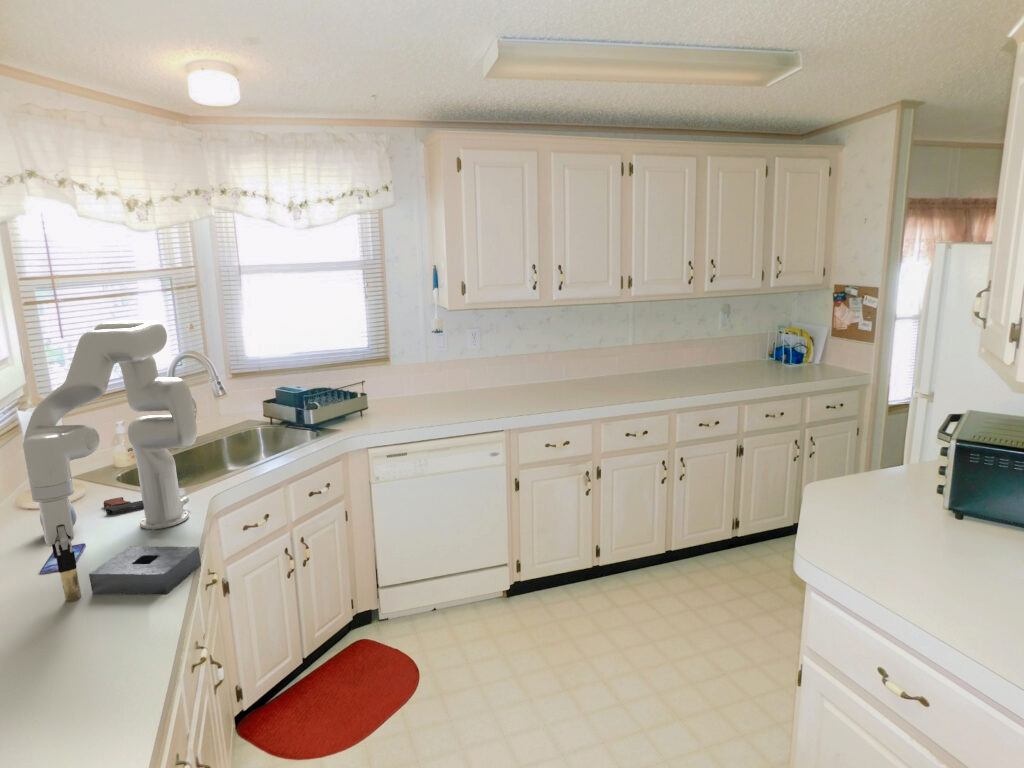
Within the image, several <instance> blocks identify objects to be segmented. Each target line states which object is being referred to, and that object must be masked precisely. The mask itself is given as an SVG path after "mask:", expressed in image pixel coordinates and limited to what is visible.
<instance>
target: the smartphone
mask: <svg viewBox="0 0 1024 768" xmlns="http://www.w3.org/2000/svg"><path fill="white" fill-rule="evenodd" d="M71 545H72V549H73V551H74V554H75V560H76V564H78V562H79V560H80V559H81V556H82V554H83V552H84V550H85V549H86V547H87V545H86V543H85V542H84V543H83V542H82V543H77V544H74V545H73V544H71ZM57 572H58V573H59V570H58V564H57V559H56V558H54V554H53V551H52V552H51V554H50V555H49V557H48V558H47V560H46V561H45V563H44V564H43V565H42V567H41V568H40V570H39V574H40V575H46V574H51V573H57Z"/></svg>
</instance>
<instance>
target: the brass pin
mask: <svg viewBox="0 0 1024 768" xmlns="http://www.w3.org/2000/svg"><path fill="white" fill-rule="evenodd" d="M59 573H60V572H59ZM59 575H60V578H61V584H62V588H63V594H64V599H65V602H66V603H72V602H73V603H74V602H76V601H79V600H80V599H81V598H82V591H81V586H80V581H79V575H78V571H77V568H76V569H73V570H70V571H66V572H62V573H60V574H59Z"/></svg>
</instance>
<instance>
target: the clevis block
mask: <svg viewBox="0 0 1024 768" xmlns="http://www.w3.org/2000/svg"><path fill="white" fill-rule="evenodd" d="M200 554H201V553H200V548H199V546H153V545H152V546H150V545H149V546H136V545H135V546H134V545H133V546H132V545H131V546H128V547H126V549H123V550H122V551H120V552H119V553H118V554H116V555H115V556H114V557H111V558H110V559H109V560H107V561H106V562H104V563H103V564H101V565H100V566H99V567H97V568H95V569H94V570H92V571H91V572H89V573H88V577H89V582H90V588H91V594H92V595H139V596H140V595H143V596H144V595H148V596H149V595H150V596H151V595H155V596H156V595H157V596H158V595H161V596H164V595H165V596H168V594H170V592H172V591H173V590H175V588H177V587H178V586H179V585H180V584H181V583H182V582H184V581H185V580H186V579H187V578H188V577H189V576H191V575H192V574H193V573H194V572H196V570H198V569H199V568H200V567H201V566H202V562H201V561H202V559H201V555H200Z"/></svg>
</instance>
